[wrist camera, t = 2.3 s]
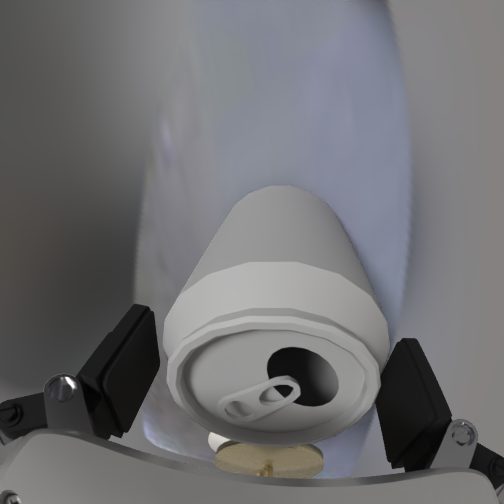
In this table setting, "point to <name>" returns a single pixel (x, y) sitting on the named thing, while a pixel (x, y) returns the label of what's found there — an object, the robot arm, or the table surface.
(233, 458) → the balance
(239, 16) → the table surface
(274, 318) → the can
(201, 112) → the table surface
